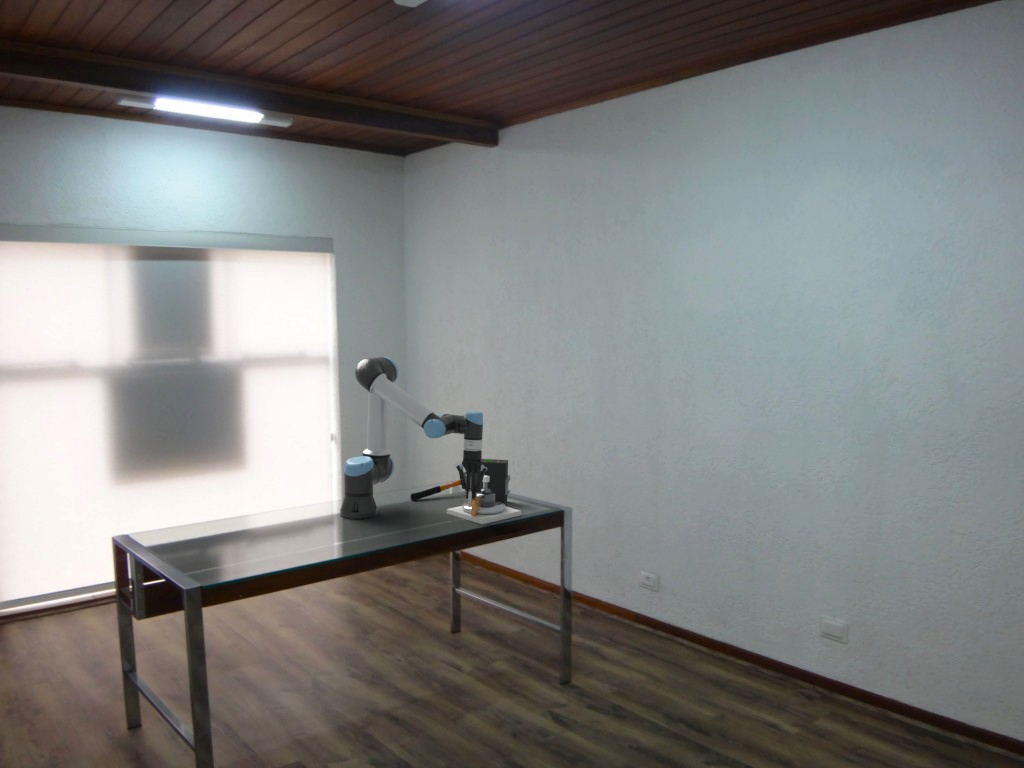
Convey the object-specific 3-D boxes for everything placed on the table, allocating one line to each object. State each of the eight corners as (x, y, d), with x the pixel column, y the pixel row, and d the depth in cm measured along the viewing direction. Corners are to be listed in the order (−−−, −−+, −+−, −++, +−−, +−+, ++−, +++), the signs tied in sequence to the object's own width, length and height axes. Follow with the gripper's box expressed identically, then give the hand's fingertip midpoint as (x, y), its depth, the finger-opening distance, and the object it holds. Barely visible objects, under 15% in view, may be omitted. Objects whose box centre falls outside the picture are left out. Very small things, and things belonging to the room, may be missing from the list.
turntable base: (446, 513, 340) (447, 480, 338) (485, 505, 355) (485, 474, 354) (482, 524, 324) (482, 490, 323) (520, 515, 339) (521, 482, 338)
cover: (473, 506, 336) (473, 490, 336) (479, 502, 344) (479, 486, 343) (491, 508, 334) (492, 492, 333) (497, 503, 342) (497, 488, 341)
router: (470, 499, 366) (471, 455, 364) (510, 501, 363) (511, 457, 362) (467, 503, 358) (468, 459, 356) (507, 505, 355) (508, 460, 354)
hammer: (411, 488, 358) (467, 471, 375) (407, 487, 361) (463, 470, 378) (414, 512, 360) (470, 493, 377) (411, 510, 363) (466, 492, 380)
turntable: (452, 514, 330) (452, 498, 329) (471, 502, 351) (471, 487, 350) (494, 518, 324) (494, 502, 324) (510, 506, 345) (511, 490, 345)
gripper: (454, 449, 327) (452, 506, 328) (485, 452, 324) (482, 509, 326) (460, 446, 334) (458, 503, 336) (490, 449, 331) (487, 506, 333)
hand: (470, 506), depth 331 cm, fingers closed
